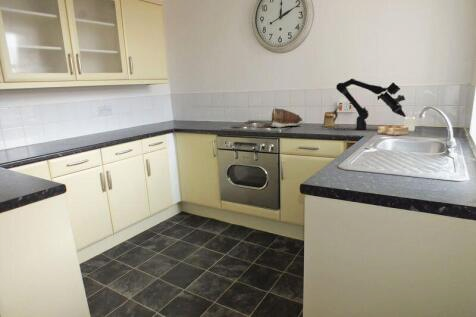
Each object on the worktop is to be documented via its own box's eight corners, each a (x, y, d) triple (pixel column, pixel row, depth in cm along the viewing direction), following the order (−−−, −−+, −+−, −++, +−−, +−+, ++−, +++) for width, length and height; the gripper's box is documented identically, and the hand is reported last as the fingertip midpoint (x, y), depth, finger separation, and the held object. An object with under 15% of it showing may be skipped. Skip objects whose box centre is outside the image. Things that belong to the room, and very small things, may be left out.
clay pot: (306, 112, 252) (275, 107, 251) (303, 131, 254) (272, 126, 253) (301, 112, 267) (272, 108, 266) (298, 131, 269) (269, 126, 267)
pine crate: (377, 133, 215) (378, 126, 213) (390, 131, 221) (390, 125, 220) (395, 136, 203) (395, 129, 202) (408, 133, 210) (408, 127, 208)
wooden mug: (341, 127, 248) (342, 103, 244) (323, 127, 250) (323, 104, 246) (339, 125, 257) (340, 102, 252) (322, 125, 259) (322, 103, 255)
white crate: (404, 131, 220) (405, 118, 218) (403, 129, 226) (404, 117, 224) (414, 131, 218) (415, 118, 216) (413, 130, 223) (414, 117, 221)
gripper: (398, 91, 211) (416, 108, 209) (397, 90, 227) (413, 106, 226) (384, 104, 216) (401, 120, 214) (384, 102, 232) (400, 117, 231)
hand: (404, 115), depth 221 cm, fingers open, 9 cm apart
